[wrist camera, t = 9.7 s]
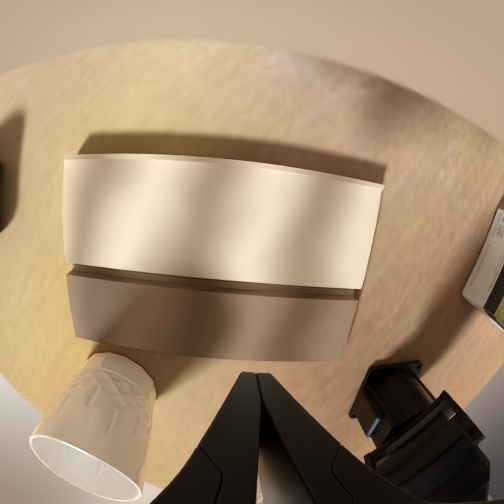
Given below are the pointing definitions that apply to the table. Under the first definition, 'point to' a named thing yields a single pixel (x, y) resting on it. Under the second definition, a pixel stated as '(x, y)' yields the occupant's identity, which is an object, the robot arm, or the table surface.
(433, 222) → the table surface
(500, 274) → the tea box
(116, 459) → the white cup
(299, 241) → the pale oak plank
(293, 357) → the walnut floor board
